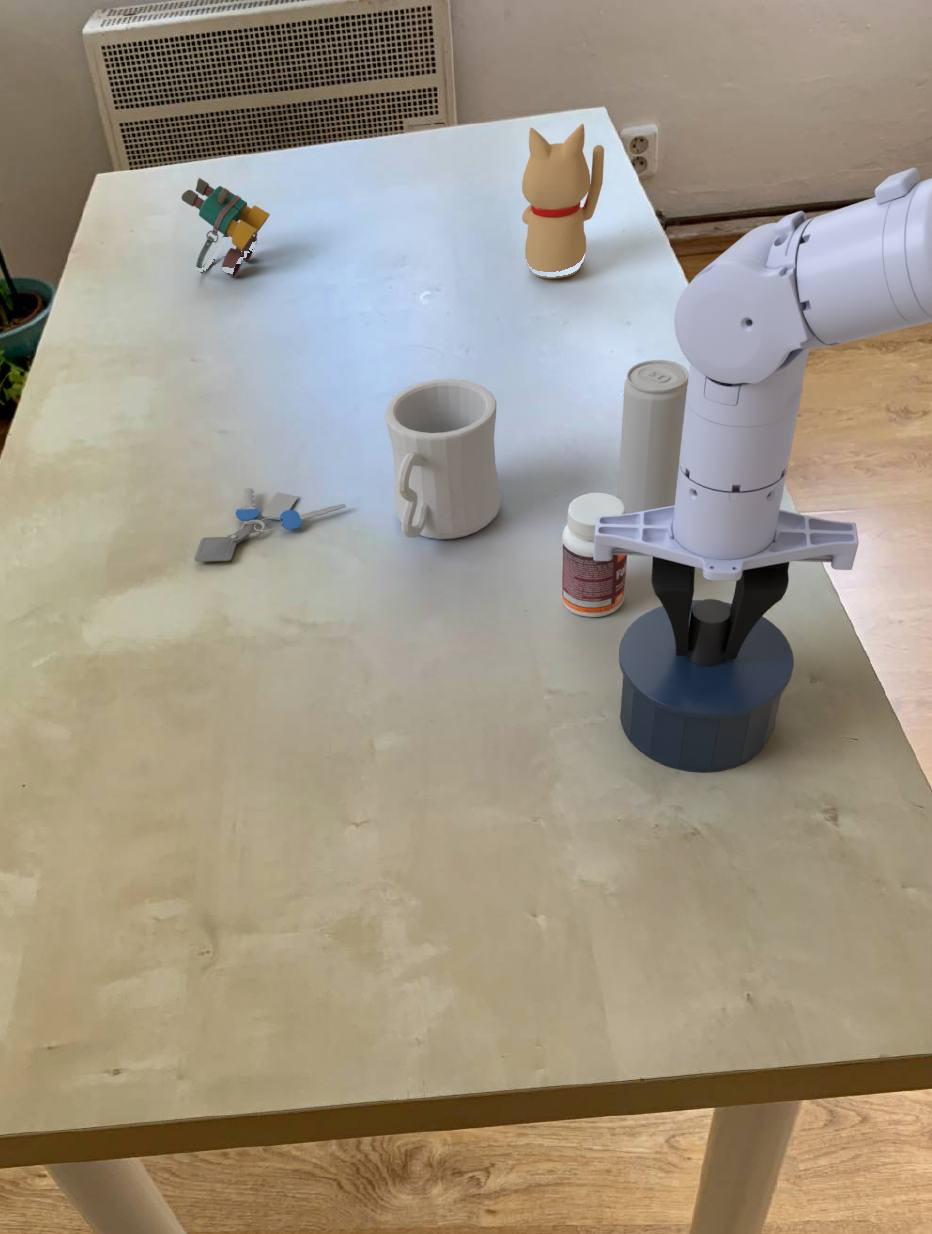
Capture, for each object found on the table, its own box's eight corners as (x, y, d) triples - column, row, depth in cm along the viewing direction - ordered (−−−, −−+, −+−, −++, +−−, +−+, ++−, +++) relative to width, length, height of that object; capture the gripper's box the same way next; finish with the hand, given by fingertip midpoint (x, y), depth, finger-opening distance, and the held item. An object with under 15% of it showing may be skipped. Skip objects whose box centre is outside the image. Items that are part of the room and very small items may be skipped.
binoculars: (222, 303, 131) (249, 233, 124) (155, 260, 130) (178, 186, 122) (251, 268, 137) (279, 199, 129) (187, 227, 136) (211, 154, 128)
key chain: (205, 575, 92) (202, 567, 91) (166, 529, 97) (164, 521, 96) (348, 511, 95) (346, 503, 95) (304, 470, 101) (302, 462, 100)
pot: (805, 724, 73) (820, 665, 69) (693, 796, 70) (703, 739, 66) (696, 647, 79) (704, 589, 75) (590, 710, 76) (592, 653, 72)
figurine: (599, 245, 125) (605, 101, 114) (599, 284, 119) (605, 135, 108) (524, 249, 127) (523, 107, 116) (520, 288, 120) (518, 141, 109)
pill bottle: (628, 616, 82) (635, 525, 76) (564, 621, 83) (566, 530, 77) (619, 577, 85) (625, 485, 79) (558, 581, 86) (559, 491, 80)
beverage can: (641, 484, 93) (652, 352, 84) (688, 505, 91) (704, 371, 82) (604, 510, 91) (611, 378, 83) (650, 532, 89) (662, 398, 80)
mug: (423, 473, 98) (414, 370, 91) (517, 491, 95) (515, 385, 87) (359, 554, 91) (343, 449, 84) (458, 576, 88) (451, 470, 80)
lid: (828, 673, 69) (843, 616, 66) (702, 752, 66) (711, 697, 63) (704, 591, 76) (711, 535, 72) (584, 659, 73) (586, 605, 69)
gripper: (593, 502, 59) (585, 683, 69) (882, 509, 56) (830, 698, 66) (602, 431, 63) (593, 610, 73) (870, 433, 60) (823, 620, 70)
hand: (705, 646), depth 70 cm, fingers closed on lid, 2 cm apart
